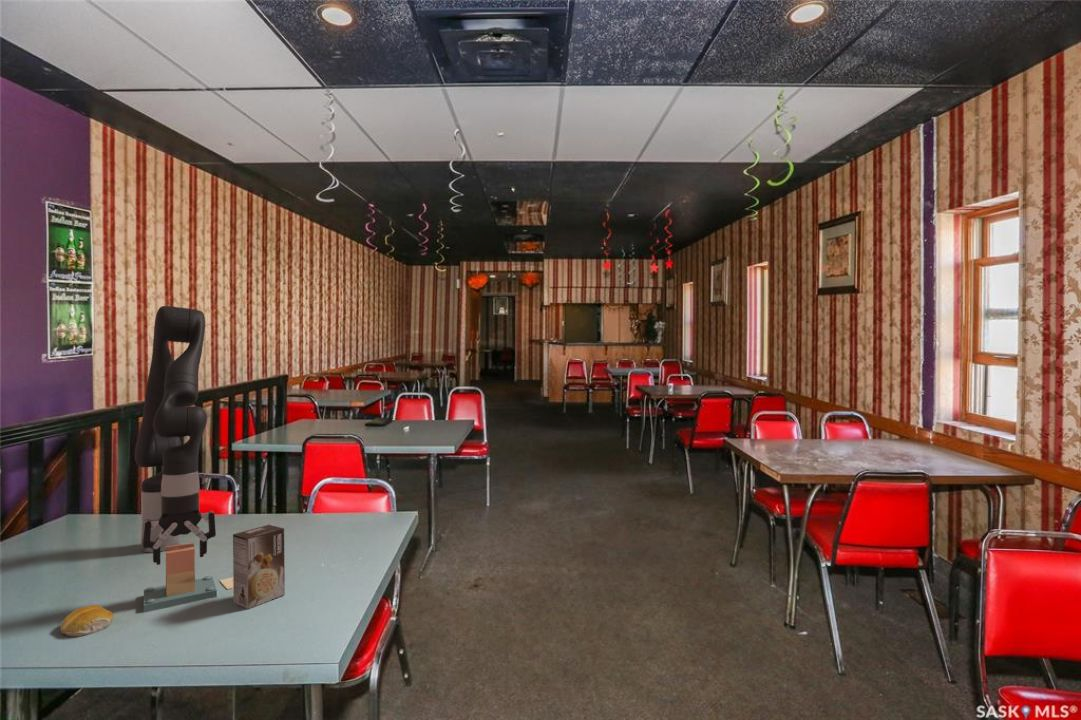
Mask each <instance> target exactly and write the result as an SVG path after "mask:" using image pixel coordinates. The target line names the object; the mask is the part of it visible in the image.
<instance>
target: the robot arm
mask: <svg viewBox="0 0 1081 720" xmlns="http://www.w3.org/2000/svg"><path fill="white" fill-rule="evenodd" d="M153 327H154V329H153V339H152V340H153V342H152V353H151V354H152V355H151V362H150V367H149V371H148V372H149V373H148V376H147V382H146V388H145V393H144V394H145V396H144V403H143V412H142V419H141V423H140V427H139V432H138V433H137V434H138V435H137V439H136V442H135V443H136V444H135V447H134V459H135V463H136V465H137V466H138V467H140V468H156V467H162V470H160V471H159V472H158V473H156V474H155V475H152V476H150V477H147V478H145V479H144V480H142V482H141V486H140V487H141V488H140V489H141V491H140V492H141V493H140V494H141V496H140V497H141V499H140V501H141V504H140V505H141V508H140V509H141V511H140V512H141V515H140V517H141V520H140V521H141V527H140V529H141V532H140V533H141V536H140V537H141V539H140V541H141V542H140V543H141V545H140V546H141V547H140V548H141V552H143V551H145V552H144V553H152V562H153V563H154V564H156V566H158V565H161V552H164V551H165V552H166V546H173V545H179V544H180V535H189V534H190V533H193V534H194V535H195V537H197V538H198V539H199V558H203V557H204V555H206V554H207V552H208V540H209V539H211V538H215V537H216V535H217V533H216V520H215V519H216V517H215V512H214V511H213V510H209V511H208V512H204V513H203V512H200V489H201V487H200V477H199V451H200V445H201V441H202V437H203V434H204V433H205V429H206V426H207V423H208V415H207V412H206V411H205V409H204V408H203V407H201V406H197V405H196V406H195V405H193V404H195V403H196V402H197V400H198V398H199V369H200V364H201V358H202V353H203V347H204V341H205V333H206V332H205V331H206V317H205V314H204V312H203V311H201V310H199V309H194V308H187V307H179V306H170V305H162V306H160V307H159V308H158V310H157V312H156V314H155V320H154V326H153ZM168 342H173V343H185V344H188V346H187V348H186V349H185V350H184V351H183V352H182V353H181V354H180V355H179V356H178V357H177V358H176V359H174V357H173V355H172V353H171V351H170V347H169V344H168ZM191 405H193V406H191ZM183 437H189V438H188V440H187V441H186V442H185V443H183V444H182V442H181V438H183ZM202 519H203V520H204V522H206V523H208V531H207V532H206V533H205V532H204V531H203V530H202V529H201V528H200V526H198V524H199V523H200V522H201V520H202Z"/></svg>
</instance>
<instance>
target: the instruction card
mask: <svg viewBox="0 0 1081 720" xmlns="http://www.w3.org/2000/svg"><path fill="white" fill-rule="evenodd" d="M219 583H221V585H222V586H223V587H224V588H225V589H226V590H227V591H229V590H233V589H232V588H233V576H232V577H231V576H230V577H228V578H223V579H219Z"/></svg>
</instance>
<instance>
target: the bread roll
mask: <svg viewBox="0 0 1081 720" xmlns="http://www.w3.org/2000/svg"><path fill="white" fill-rule="evenodd" d="M113 620H114V613H113V612H112V611H111V610H109V609H108V610H107V609H106V608H104V607H103V606H100V605H97V604H96V605H86V606H83V607H80V608H77V609H75V610H73V611H71V613H70V612H69V614H67V616H65V618H64V619H63V620H62V622H61V624H60V632H61V633H62V634H63V635H66V636H68V637H74V638H75V637H83V636H88V635H92V634H94V633H95V634H96V633H97V632H100V631H103V630H105V629H107V627H109V626H110V625H111V623H112V622H113Z"/></svg>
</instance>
